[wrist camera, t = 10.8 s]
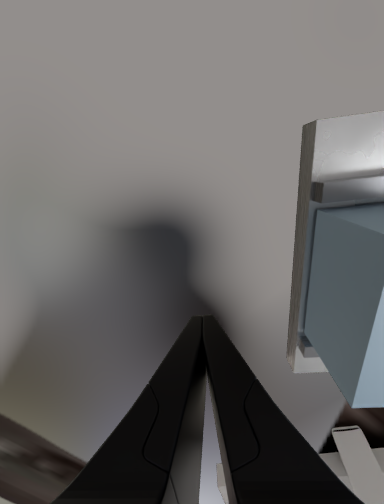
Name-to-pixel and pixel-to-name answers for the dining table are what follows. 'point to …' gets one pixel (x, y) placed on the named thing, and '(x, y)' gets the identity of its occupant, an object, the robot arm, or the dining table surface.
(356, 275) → the block
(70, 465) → the dining table surface
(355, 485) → the recessed light fixture
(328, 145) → the seat jig
